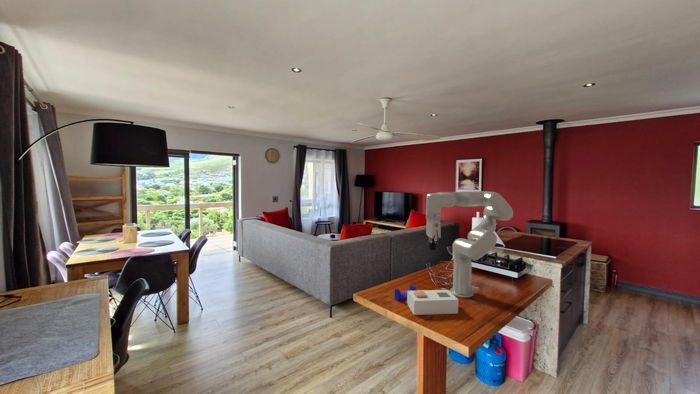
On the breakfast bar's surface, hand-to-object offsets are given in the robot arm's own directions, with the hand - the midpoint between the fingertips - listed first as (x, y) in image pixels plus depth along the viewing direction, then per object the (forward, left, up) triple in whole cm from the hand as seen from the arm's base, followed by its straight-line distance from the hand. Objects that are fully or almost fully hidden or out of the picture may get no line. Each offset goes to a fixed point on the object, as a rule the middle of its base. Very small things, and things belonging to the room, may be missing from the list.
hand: (432, 249), depth 155 cm
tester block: (+4, +12, -27) cm, 30 cm away
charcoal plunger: (-2, +12, -27) cm, 29 cm away
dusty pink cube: (+10, +12, -26) cm, 30 cm away
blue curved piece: (+14, -2, -28) cm, 31 cm away
